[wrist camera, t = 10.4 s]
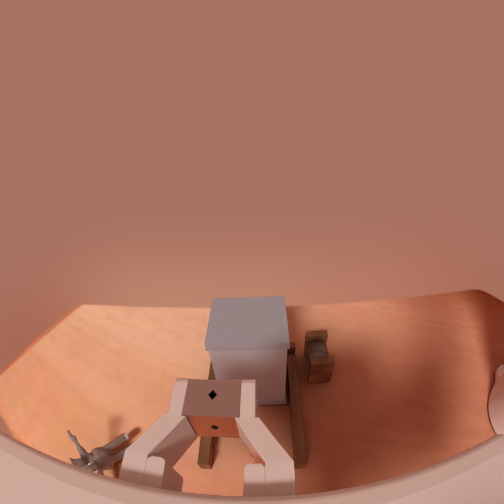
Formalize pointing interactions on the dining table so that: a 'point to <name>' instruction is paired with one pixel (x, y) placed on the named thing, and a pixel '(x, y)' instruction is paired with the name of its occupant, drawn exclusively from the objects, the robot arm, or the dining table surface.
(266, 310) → the gray rectangular block
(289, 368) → the bay
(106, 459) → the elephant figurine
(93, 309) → the dining table surface
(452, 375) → the dining table surface
